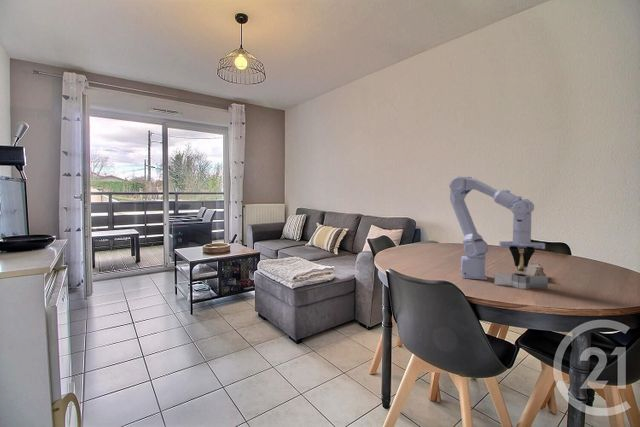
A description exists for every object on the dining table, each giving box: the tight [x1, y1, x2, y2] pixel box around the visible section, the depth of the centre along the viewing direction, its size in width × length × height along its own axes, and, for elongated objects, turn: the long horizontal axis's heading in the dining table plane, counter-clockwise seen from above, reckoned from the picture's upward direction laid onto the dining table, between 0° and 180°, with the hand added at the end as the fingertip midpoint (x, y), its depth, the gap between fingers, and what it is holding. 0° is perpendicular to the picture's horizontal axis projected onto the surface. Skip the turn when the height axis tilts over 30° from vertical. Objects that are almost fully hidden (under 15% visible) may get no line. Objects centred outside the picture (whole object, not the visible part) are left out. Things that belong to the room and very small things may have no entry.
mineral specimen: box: [521, 261, 547, 277], centre depth 128 cm, size 13×7×6 cm, turn 173°
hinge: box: [493, 272, 549, 290], centre depth 116 cm, size 17×6×4 cm, turn 69°
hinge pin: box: [516, 251, 525, 272], centre depth 116 cm, size 2×2×7 cm
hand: (520, 266), depth 116 cm, fingers closed on hinge pin, 2 cm apart
